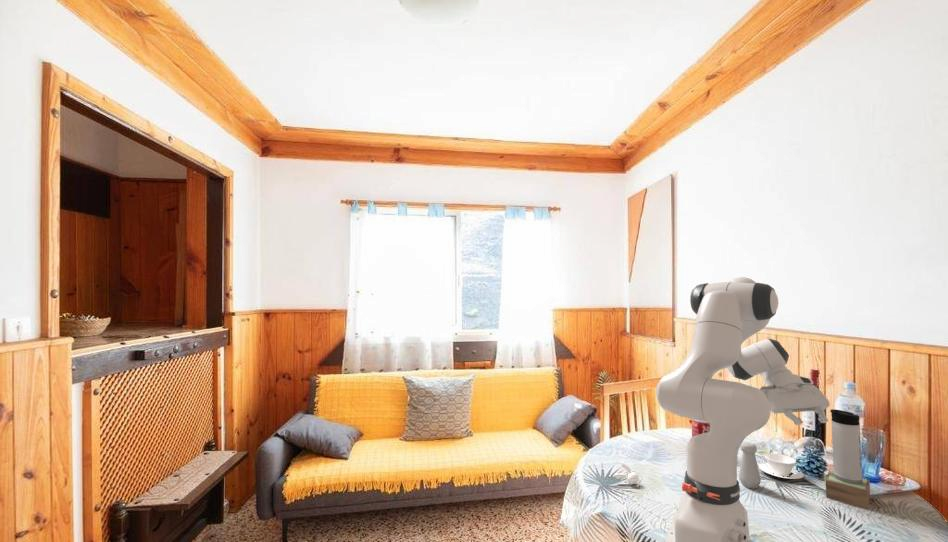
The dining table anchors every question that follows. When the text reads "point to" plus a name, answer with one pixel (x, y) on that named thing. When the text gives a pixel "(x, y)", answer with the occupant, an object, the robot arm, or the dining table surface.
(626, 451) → the dining table surface
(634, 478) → the rabbit figurine
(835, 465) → the travel mug
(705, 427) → the soda can
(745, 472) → the salt shaker
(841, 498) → the stand
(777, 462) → the teacup
